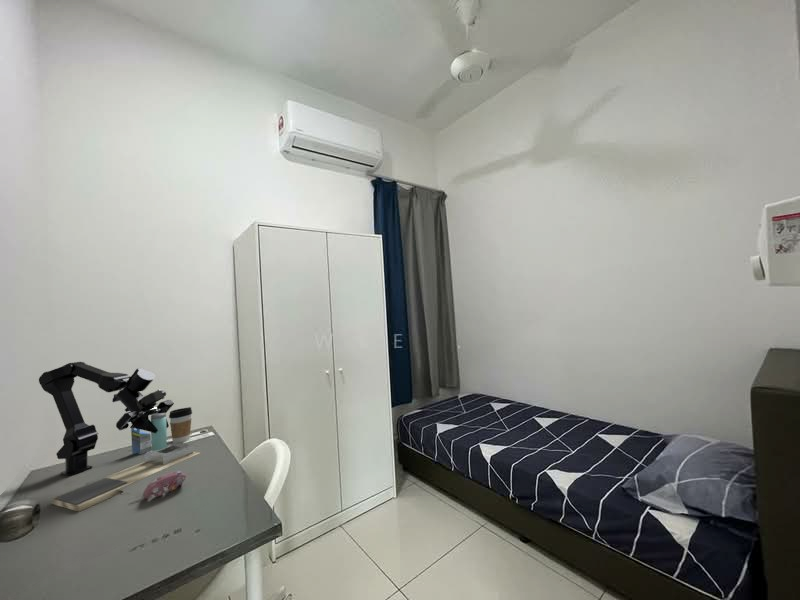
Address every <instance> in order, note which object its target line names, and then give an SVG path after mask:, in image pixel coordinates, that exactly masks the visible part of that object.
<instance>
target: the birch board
mask: <svg viewBox="0 0 800 600" xmlns="http://www.w3.org/2000/svg"><path fill="white" fill-rule="evenodd" d="M199 454H200V452H198V451H194V453H192V454H189V455H187V456H185V457H182V458H180V459H178V460H175V461H173V462H171V463H168V464H166V465H164V466H162V465H156V464H149V463H144V461H142V462H141V463H138V464H135V465H133V466H130V467H128V468H125V469H123V470H120V471H117V472H114V473H113V474H112V473H111V474H110V475H108V476H105V477H103V478H110V479H115V480H120V481H125V482H127V483H126V484H124V485H122V486H119V487H117V488H115V489H113V490H110V491H108V492H106V493H103V494H101V495H99V496H96V497H94V498H92V499H90V500H87V501H85V502H83V503H80V504H78V505H73V504H70V503H66V502H62V501H58V500H55V499H54V498H55V497H58V496H60V495H63V494H65V493H68V492H69V491H68V492H64V493H62V494H60V495H57V496H55V497H53V498H51V505H54V506H57V507H62V508H64V509H68V510H72V511H75V512H79V513H80V512H81V511H84V510H86V509H88V508H90V507H92V506H94V505H97V504H99V503H101V502H103V501H106V500H108V499H110V498H112V497H115V496H117V495H119V494H121V493H124V492H123V491H124V490H120V489H122V488H124V487H126V486H128V485H130V484H133V483H135V482H138V481H139V480H142V479H144V478H146V477H149V476H151V475H153V474H156V473H158V472H160V471H163V470H165V469H167V468H170V467H171V466H173V465H177V464H178V463H180V462H183V461H185V460H188V459H190V458H192V457H195V456H196V455H199ZM103 478H101V479H103ZM98 480H99V479H97V480H96V481H98ZM93 482H94V481H92V482H91V483H93ZM88 484H89V483H87V484H86V485H88ZM83 486H84V485H83ZM83 486H81V487H83ZM78 488H79V487H77V488H76V489H78ZM73 490H74V489H73ZM73 490H71V491H73Z"/></svg>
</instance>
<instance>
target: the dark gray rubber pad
mask: <svg viewBox="0 0 800 600" xmlns="http://www.w3.org/2000/svg"><path fill="white" fill-rule="evenodd" d="M97 480H98V481H97ZM97 480H95V481H92V482H93V483H92V482H90V483H87V484H88V485H87V484H86V485H85V484H84V485H83V487H82V486H80V487H77V488H78V489H77V488H75V489H73V491H72V490H70V491H68V493H67V492H64V493H65V494H64V493H62V494H63V495H62V494H60V496H59V495H57V496H58V497H57V496H55V498H54V497H53V498H54V499H55V500H58V501H62V502H66V503H70V504H73V505H78V504H80V503H83V502H85V501H87V500H90V499H92V498H94V497H96V496H99V495H101V494H103V493H106V492H108V491H110V490H113V489H115V488H117V487H119V486H122V485H124V484H126V483H127V482H125V481H120V480H115V479H110V478H105V477H103V479H102V478H100V479H97Z"/></svg>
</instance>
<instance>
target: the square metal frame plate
mask: <svg viewBox="0 0 800 600" xmlns="http://www.w3.org/2000/svg"><path fill="white" fill-rule="evenodd" d="M194 452H195V450H194V444H188V443H183V442H181V443H173V442H172V443H171V444H167V447H165V448H163V449H160V450H156V451H152V450H151V451H149V452H146V453H143V455H144V459H143V460H144V461H143V462H144V463H149V464H156V465H162V466H164V465H166V464H168V463H171V462H173V461H175V460H178V459H180V458H182V457H185V456H187V455H189V454H192V453H194Z"/></svg>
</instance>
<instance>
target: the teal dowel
mask: <svg viewBox="0 0 800 600" xmlns="http://www.w3.org/2000/svg"><path fill="white" fill-rule="evenodd" d="M166 419H167V412H166V413H159V414H154V415H150V421H151V422H152V424H153V425H154V426H155V427H156V428H157V430H158V431H157V432H156V433H153V432H150V434H151V452H152V451H156V450H160V449H163V448H165V447H167V446H168V444H167V441H168V437H167V428H166Z"/></svg>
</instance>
